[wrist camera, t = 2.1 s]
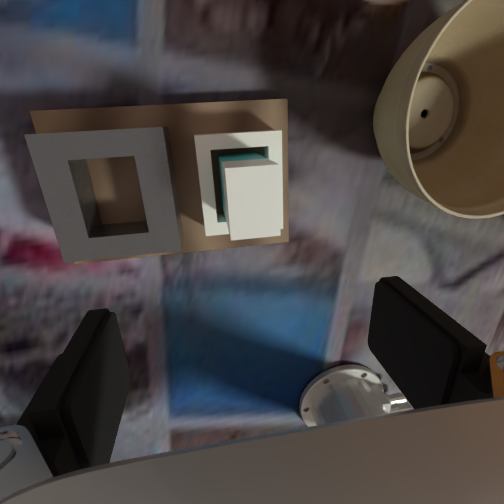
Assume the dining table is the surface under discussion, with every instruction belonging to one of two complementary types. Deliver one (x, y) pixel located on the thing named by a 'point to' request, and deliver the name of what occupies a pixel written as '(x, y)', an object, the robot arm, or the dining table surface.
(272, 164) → the plug
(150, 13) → the dining table surface
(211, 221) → the white rectangular frame
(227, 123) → the panel board
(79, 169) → the port block
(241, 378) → the dining table surface
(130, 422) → the dining table surface
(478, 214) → the planter bowl
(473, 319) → the dining table surface
